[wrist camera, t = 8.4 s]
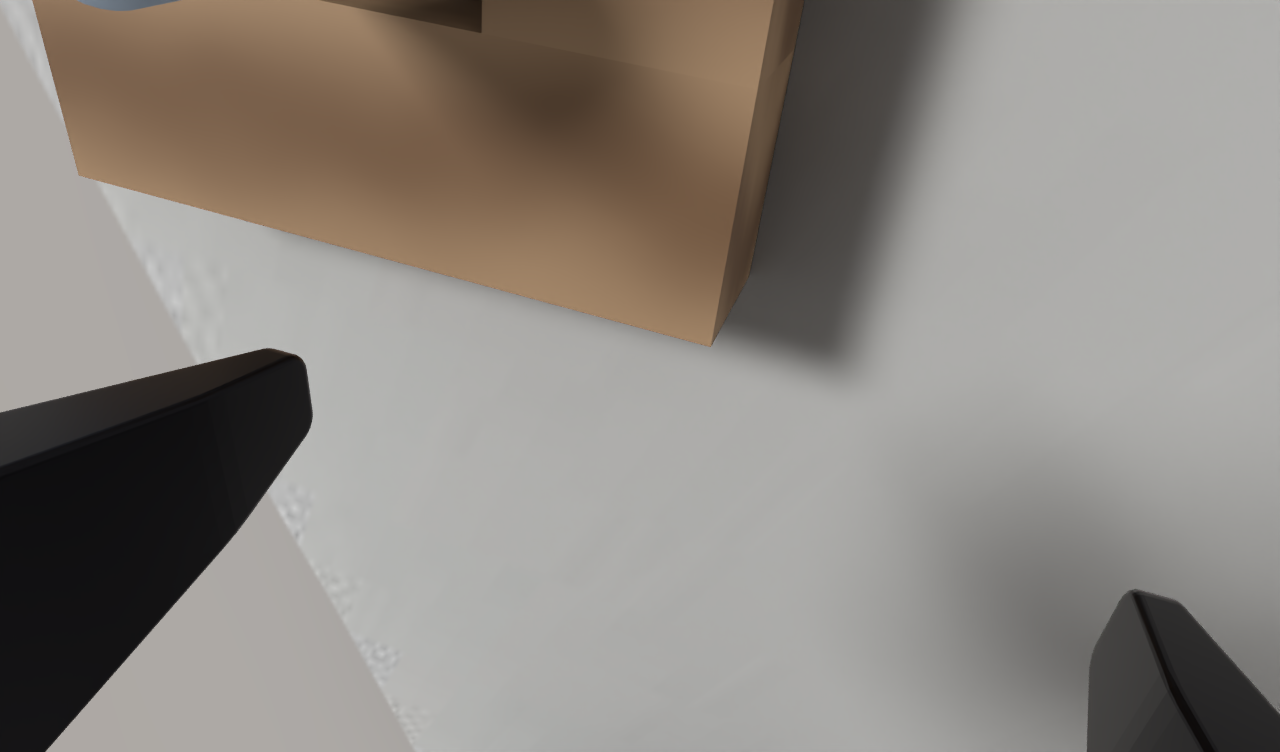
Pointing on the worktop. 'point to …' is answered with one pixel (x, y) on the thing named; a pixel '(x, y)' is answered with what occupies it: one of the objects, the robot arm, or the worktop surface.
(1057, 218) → the worktop surface
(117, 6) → the peg
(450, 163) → the socket board
